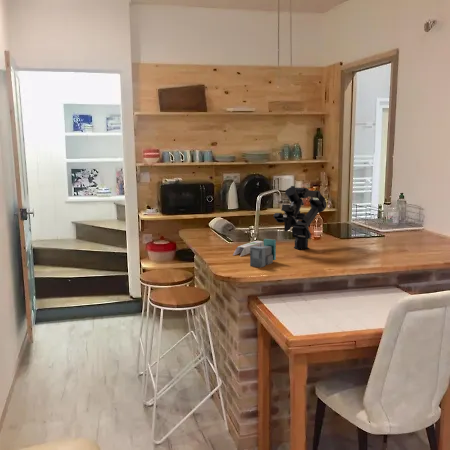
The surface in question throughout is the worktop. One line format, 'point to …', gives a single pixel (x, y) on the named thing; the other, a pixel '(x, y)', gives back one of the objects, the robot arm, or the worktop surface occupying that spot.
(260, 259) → the socket
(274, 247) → the teal green slab
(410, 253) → the worktop surface
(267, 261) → the sleeve
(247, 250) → the box
